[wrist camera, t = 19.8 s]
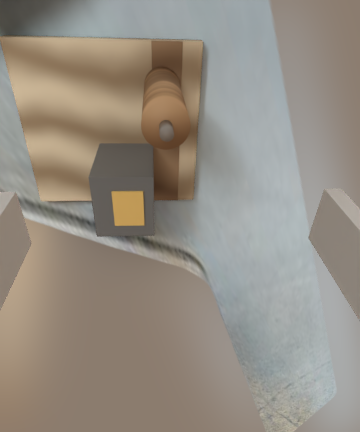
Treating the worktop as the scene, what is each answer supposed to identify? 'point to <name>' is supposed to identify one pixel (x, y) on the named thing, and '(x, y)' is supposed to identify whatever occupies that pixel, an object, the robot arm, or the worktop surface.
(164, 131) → the wooden tool handle
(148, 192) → the grey box with label
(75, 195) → the birch board
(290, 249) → the worktop surface
